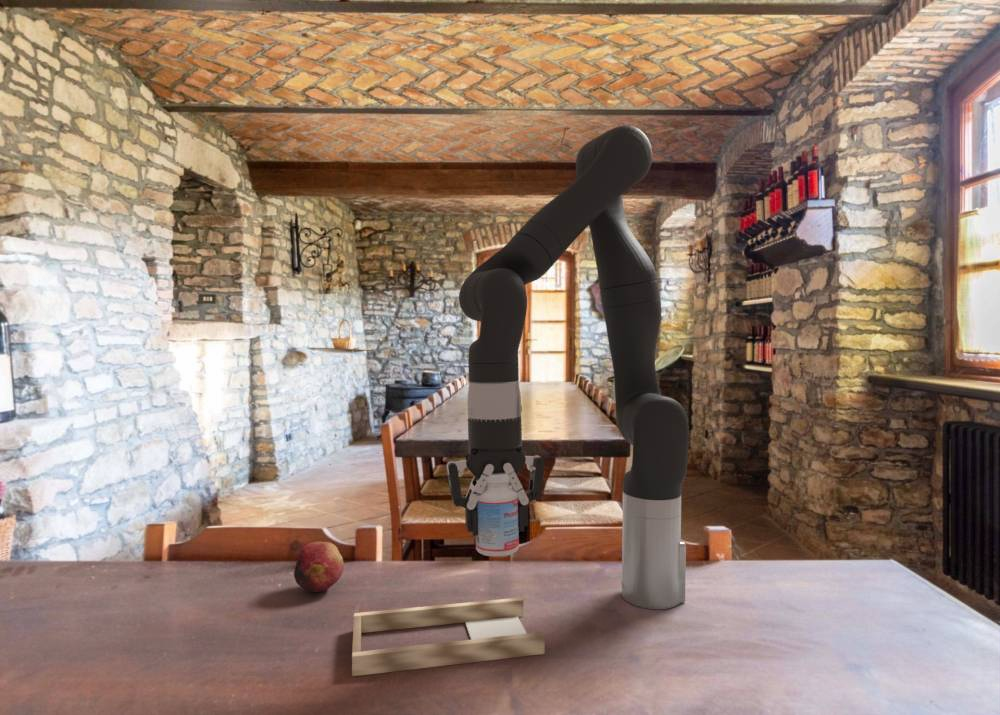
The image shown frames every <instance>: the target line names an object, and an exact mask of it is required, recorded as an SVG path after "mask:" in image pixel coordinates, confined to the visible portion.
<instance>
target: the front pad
mask: <svg viewBox="0 0 1000 715" xmlns="http://www.w3.org/2000/svg"><path fill="white" fill-rule="evenodd" d="M464 624H465V627H466V630H467V633H468V636H469V638H470V639H469V640H472V639H481V638H490V637H500V636H509V635H518V634H527V631H526V628H525V627H524V625H523V623H522V621H521V620H520V617H509V618H499V619H489V620H479V621H469V622H464Z"/></svg>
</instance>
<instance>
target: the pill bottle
mask: <svg viewBox="0 0 1000 715" xmlns="http://www.w3.org/2000/svg"><path fill="white" fill-rule="evenodd" d="M483 480H484V479H483ZM475 508H476V509H477V530H478V535H477V536H475V550H476V551H477V552H478V553H479V554H481V555H483V556H487V557H508V556H510V555H513V554H515V553H516V552H517V551H518V549H520V546H519V544H520V540H519V539H520V536H519V533H520V531H519V528H518V497H517V493H516V492H515V491H514V489H513V488H512V486H511V485H510V480H509V475H507V474H506V473H493V474H491V475H490V476H488V477H487V484H486V486H485V489H484V491H483V493H482V495H480V496H479V499H478V502H477V504H476V506H475Z"/></svg>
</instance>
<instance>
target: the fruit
mask: <svg viewBox="0 0 1000 715" xmlns="http://www.w3.org/2000/svg"><path fill="white" fill-rule="evenodd" d="M344 567H345V563H344V558H343V556H342V554H341V553H340V551H339V549H338V547H337V546H336V545H335V544H333V543H332V542H328V541H315V542H311V543H308V544H306V545H305V546H304V547H303V548H301V550H300V551H299V553H298V556H297V559H296V563H295V568H294V572H293V578H294V580H295V582H296V584H297V585H298V586H299V587H300V588H302V589H303V590H305V591H306V592H312V593H321V592H322V593H323V592H325V591H327V590H329V589H330V588H331V587H332V586H334V585H335V584H336V583H337V582H338V581H339V580H340V579H341V577H342V575H343V572H344Z"/></svg>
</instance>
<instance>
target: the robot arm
mask: <svg viewBox="0 0 1000 715" xmlns="http://www.w3.org/2000/svg"><path fill="white" fill-rule="evenodd" d="M652 147H653V146H652V144H651V142H650V140H649V138H648V137H647V135H646V134H645V133H644V132H643V131H642V130H641V129H640V128H638V127H637V126H633V125H629V124H628V125H627V124H626V125H619V126H616V127H614V128H611V129H608V130H607V131H605V132H604V133H602V134H600V135H599V136H597V137H595V138H593V139H591V140H589V141H588V142H587V143H585V144H584V145H582V147H581V148H580V149H579V151H578V153H577V156H576V159H575V174H576V180H575V181H573V182H572V183H571V184H570V185H568V187H567V188H565V189H564V190H563V191H562V192H560V193H559V194H558V195H557V196H555V197H554V198H552V199H551V200H550V201H548V203H546V204H545V205H543V207H541V208H539V210H538V211H537V212H536V213H534V214H533V215H532V216H531V217H530V218H529V219H528V220H527V221H526V222H525V224H523V225H522V227H521V228H519V230H518V231H517V232H515V234H514V235H513V236H512V237H511V239H510V240H509V241H508V242H507V243H506V244H505V245H504V246H503V247H502V248H501V249H499V250H498V251H497V252H495V253H494V254H493V255H491V256H490V257H489V258H488V259H486V260H485V261H484V262H482V263H481V264H480V265H479V266H477V267H476V268H475V269H474V270H473V271H472V272H471V273H470V274H469V275H468V276H467V277H466V279H465V280H464V282H463V283H462V285H461V287H460V289H459V294H458V304H459V306H460V309H461V311H462V313H463V314H464V315H465V316H466V317H467V318H469V319H471V320H473V321H476V322H479V323H480V329H479V337H478V338H477V339H476V340H474V341H473V342H471V344H470V345H469V347H468V359H467V360H468V364H467V365H468V390H467V433H468V434H467V438H468V439H467V440H468V441H467V443H468V445H467V446H468V451H467V455H466V457H465V459H460V460H455V461H454V460H448V461H447V462H446V464H445V465H446V466H445V467H446V473H447V480H448V486H449V491H450V497H451V501H452V502H453V505H454V506H455V507H461V508H464V514H465V515H464V516H465V522H464V523H465V528H466V530H467V532H468V533H470V535H471V536H472V537H476V536H477V535H478V530H477V509H476V508H475V506H476V504H477V502H478V499H479V496H480V495H482V493H483V491H484V489H485V486H486V484H487V477H488V476H490V475H491V474H493V473H506V474H507V475H509V480H510V485H511V486H512V488H513V489H514V491H515V492H516V493H517V497H518V528H519V532H524V531H525V527H528V525H529V504H530V502H533V501H536V500H539V499H541V497H542V489H543V478H544V469H545V459H544V458H543V457H541V456H540V455H539V454H533V455H525V454H524V451H523V442H522V441H523V438H522V437H523V435H522V434H523V432H522V431H523V430H522V425H523V423H522V412H523V405H522V397H521V394H522V393H521V388H520V381H519V377H520V376H519V375H520V374H519V371H520V370H519V348H520V344H521V341H522V337H523V332H524V326H525V321H526V317H527V312H528V311H527V309H528V293H527V289H526V285H527V284H529V283H532V282H535V281H537V280H539V279H540V278H542V277H543V276H544V275H546V273H547V272H549V270H550V269H551V268H552V267H553V266H554V264H556V262H558V260H559V259H560V258H561V256H562V255H563V254H564V253H565V252H566V251H567V249H568V248H569V247H570V246H571V245H572V244H573V243H574V242H575V241H576V239H578V237H579V236H580V235H581V234H582V233H583V232H584V231H585V230H586V229H587V228H588V226H589V232H590V236H591V242H592V248H593V253H594V259H595V265H596V270H597V276H598V286H599V293H600V299H601V306H602V312H603V313H602V314H603V316H604V321H605V328H606V334H607V340H608V341H607V342H608V345H609V346H608V347H609V350H610V356H611V362H612V369H613V377H614V397H615V417H616V418H615V419H616V424H617V428H618V431H619V432H620V435H621V436H622V438H623V439H624V440H625V441H626V442H627V443H629V444H630V445H632V460H631V467H630V470H629V471H627V472H625V474H624V475H623V477H622V529H621V530H622V534H621V535H622V536H621V537H622V539H621V541H622V542H621V543H622V544H621V551H622V552H621V595H622V598H623V599H624V600H625V601H626V602H628V603H629V604H631V605H634V606H637V607H638V608H639V607H641V608H644V609H651V610H666V609H670V608H673V607H676V606H677V605H679V604H680V603H686V577H687V576H686V573H687V572H686V571H687V570H686V569H687V566H686V565H687V563H686V562H687V559H686V558H687V545H686V542H684V541H682V536H681V535H682V534H681V533H682V527H681V526H682V486H683V484H684V482H685V479H686V476H687V470H688V457H689V455H688V454H689V438H690V434H689V433H690V430H689V418H688V416H687V413H686V411H685V408H684V407H683V405H681V403H680V402H678V401H677V400H676V399H674V398H672V397H669V396H665V395H662V394H661V391H660V386H659V383H658V382H659V381H658V376H657V371H656V369H657V368H656V351H657V350H656V349H657V342H658V339H659V338H658V337H659V333H660V327H661V319H662V302H661V295H660V289H659V288H660V286H659V281H658V275H657V271H656V268H655V266H654V263H653V262H652V260H651V258H650V256H649V255H648V254H647V252H646V251H645V249H644V248H643V246H642V245H641V244H640V243H639V241H638V240H637V239H636V236H635V235H634V234H633V233H632V231H631V229H630V226H629V224H628V221H627V217H626V213H625V208H624V201H623V194H625V193H626V192H627V191H629V190H630V189H631V188H633V187H634V186H635V185H638V183H639V182H641V181H642V180H643V179H644V178H645V177H646V176H647V175H648V173H649V171H650V170H651V166H652V164H653V149H652ZM525 465H526V468H527V469H528V471H529V479H528V480H529V482H528V489H527V490H524V487H523V485H522V483H521V481H520V480H519V477H518V475H519V473H520V472H521V470H522V469H523V467H524V466H525ZM466 468H467V469H468V470H469V471H470V473H471V474H472V475H473V476H472V479H471V482H470V484H469V488H468V491H467V493H466V495H463V494H462V490H461V485H460V484H461V482H460V478H461V477H462V476H463V475H464V470H465V469H466ZM483 479H484V480H483Z"/></svg>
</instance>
